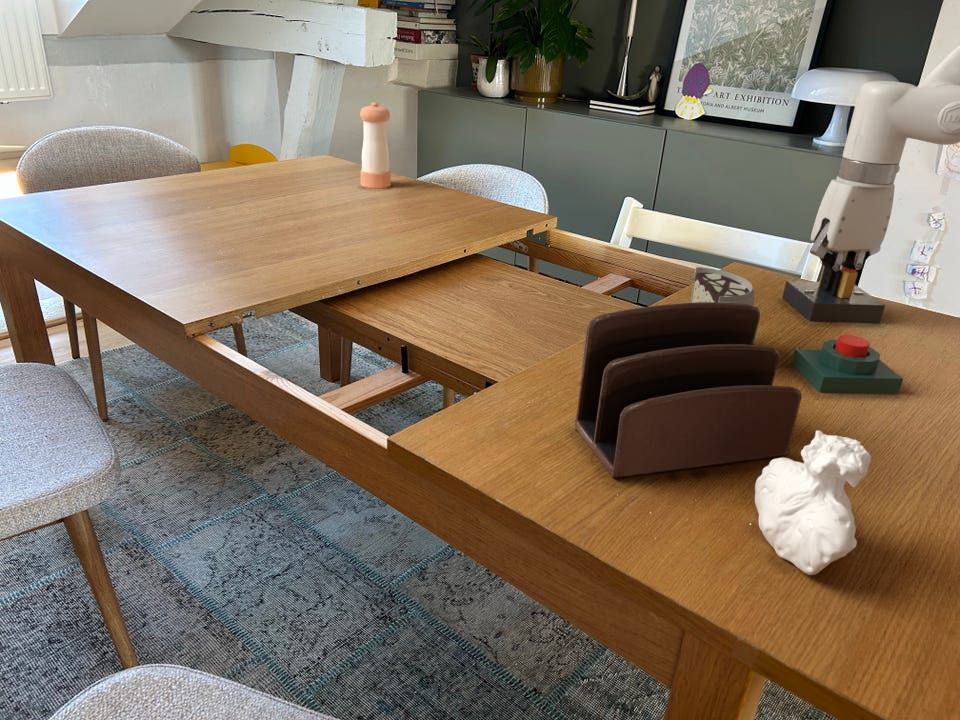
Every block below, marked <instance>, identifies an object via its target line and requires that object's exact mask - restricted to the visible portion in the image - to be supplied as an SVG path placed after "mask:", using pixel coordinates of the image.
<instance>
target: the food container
mask: <svg viewBox="0 0 960 720" xmlns="http://www.w3.org/2000/svg"><path fill="white" fill-rule="evenodd" d="M692 281H693V284H692V291H691V298H690V303H695V302H721V303H736V304H746V305H751V306H754V305H755V290H754V289H753V288H754V287H753V285H752V283H751V282H750V281H749V280H748V279H746V278H745V277H743V276H740V275H737V274H735V273H732V272H729V271H725V270H721V269H716V268H710V267H701V266H696V267H695V270H694V272H693V277H692ZM754 307H755V306H754Z"/></svg>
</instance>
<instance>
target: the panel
mask: <svg viewBox="0 0 960 720" xmlns="http://www.w3.org/2000/svg"><path fill="white" fill-rule="evenodd" d="M818 285H819V281H809V280H808V281H807V280H806V281H805V280H786V281H785V284H784V289H783V292H782V297H781V298H782V299H783V300H784V301H785V302H786V303H787V304H789V305H790V306H791V307H792V308H793V309H794V310H795V311H796V312H798V313H799V314H800V315H801V316H802V317H804V318H805V319H806V320H807V321H808V322H812V323H814V322H816V323H847V324H850V323H851V324H881V321H882V317H883V315H884V311H885V308H886V304H884V303H883V302H881V301H880V300H878V299H877V298H875V297H874V296H872V295H871V294H869V293H868V292H867V291H865V290H864V289H862V288H860V287H859V286H858V285H856V284H855V285H854V288H853V292H852V295H851V298H840V297H838V296H836V295H835V296H830V295H828V294H826V293H824V292H822V291H820V290H819V287H818Z"/></svg>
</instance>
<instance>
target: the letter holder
mask: <svg viewBox="0 0 960 720" xmlns="http://www.w3.org/2000/svg"><path fill="white" fill-rule="evenodd" d="M760 319H761V312H760V309H759V308H758V307H757V306H751V305H746V304H736V303H721V302H695V303H691V302H682V303H671V304H670V303H669V304H659V305H650V306H643V307H637V308H630V309H624V310H618V311H613V312H608V313H603V314H600V315H597V316H596V317H594V318H592V319H591V320H590V321H589V323H588V324H587V328H586V333H585V342H584V349H583V357H582V358H583V359H582V366H581V367H582V369H581V376H580V382H579V392H578V401H577V408H576V413H575V414H576V415H575V420H574V429H575V431H577V433H578V434H579V435H580V436H581V437H582V439H583V440H584V442H585V443H586V444H587V445H588V447H589V449H591V451H592V452H593V454H594V455H595V457H597V459H598V460H599V462H600V463H601V464H602V466H603V467H604V468H605V470H606V471H607V472H608V473H609V475H610V476H611V477H612V478H613V479H616V478H623V477H632V476H639V475H641V476H642V475H646V474H647V475H649V474H656V473H664V472H672V471H678V470H687V469H694V468H701V467H710V466H718V465H723V464H724V465H725V464H733V463H741V462H747V461H756V460H765V459H772V458H781V457H786V456H788V455H789V453H790V449H791V442H792V439H793V434H794V430H795V427H796V422H797V418H798V413H799V409H800V405H801V401H802V392H801V390H799V388H796V387H794V386H788V385H773V383H774V380H775V376H776V371H777V368H778V364H779V360H780V351H779V350H778V348H775V347H773V346H772V347H771V346H764V345H763V346H762V345H754V342H755V339H756V335H757V330H758V326H759V323H760Z"/></svg>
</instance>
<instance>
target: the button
mask: <svg viewBox="0 0 960 720" xmlns="http://www.w3.org/2000/svg"><path fill="white" fill-rule="evenodd" d="M836 340H837V344H836V347H835V350H836V351H837V352H839V353H841V354H843V355H846V356H851V357H856V358H865V357H866V355H867V352H868V349H869V347H871V343H870V341H869V340H867V339H866V338H863V337H861V336H857V335H854V334H853V335H852V334H841V335H839V336H838V337H837V339H836Z"/></svg>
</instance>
